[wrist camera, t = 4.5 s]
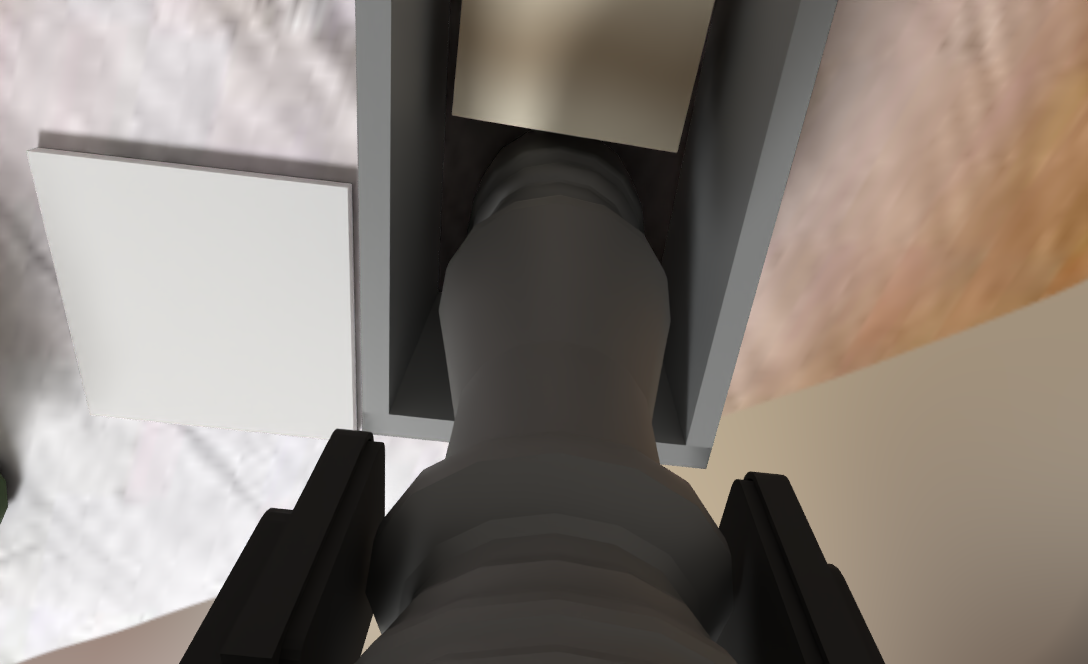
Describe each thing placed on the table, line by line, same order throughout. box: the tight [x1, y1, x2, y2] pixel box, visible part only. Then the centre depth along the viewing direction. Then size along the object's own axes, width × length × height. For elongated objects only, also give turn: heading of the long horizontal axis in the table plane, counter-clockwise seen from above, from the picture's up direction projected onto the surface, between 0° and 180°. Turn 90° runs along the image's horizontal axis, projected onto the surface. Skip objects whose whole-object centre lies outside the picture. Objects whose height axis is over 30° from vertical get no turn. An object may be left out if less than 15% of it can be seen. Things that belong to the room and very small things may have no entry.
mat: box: [26, 147, 357, 440], centre depth 28 cm, size 12×12×1 cm
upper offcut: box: [452, 0, 715, 153], centre depth 20 cm, size 6×7×2 cm
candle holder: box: [354, 130, 737, 664], centre depth 15 cm, size 6×6×25 cm
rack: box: [355, 0, 838, 469], centre depth 21 cm, size 16×11×9 cm, turn 174°
